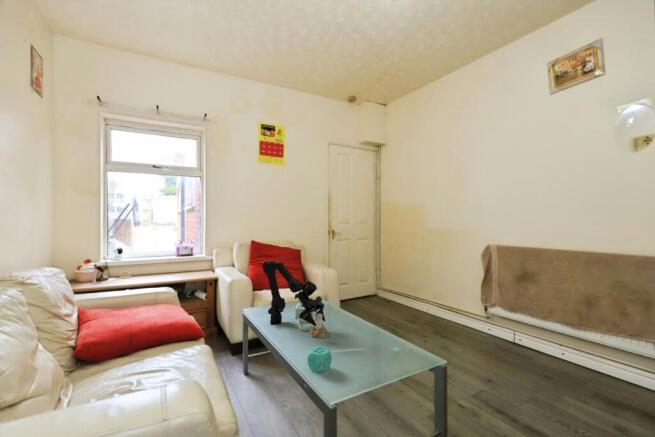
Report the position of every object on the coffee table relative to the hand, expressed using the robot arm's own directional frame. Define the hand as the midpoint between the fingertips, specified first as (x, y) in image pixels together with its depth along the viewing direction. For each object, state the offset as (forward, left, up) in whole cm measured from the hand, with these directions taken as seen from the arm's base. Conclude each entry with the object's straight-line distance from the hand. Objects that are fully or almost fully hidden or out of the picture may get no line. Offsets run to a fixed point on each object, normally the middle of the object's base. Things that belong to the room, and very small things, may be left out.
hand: (320, 323), depth 165 cm
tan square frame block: (-1, +1, -7) cm, 7 cm away
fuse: (-1, +1, -6) cm, 6 cm away
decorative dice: (-7, -34, -8) cm, 36 cm away
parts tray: (-4, +13, -7) cm, 16 cm away
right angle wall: (-4, +34, -8) cm, 35 cm away
